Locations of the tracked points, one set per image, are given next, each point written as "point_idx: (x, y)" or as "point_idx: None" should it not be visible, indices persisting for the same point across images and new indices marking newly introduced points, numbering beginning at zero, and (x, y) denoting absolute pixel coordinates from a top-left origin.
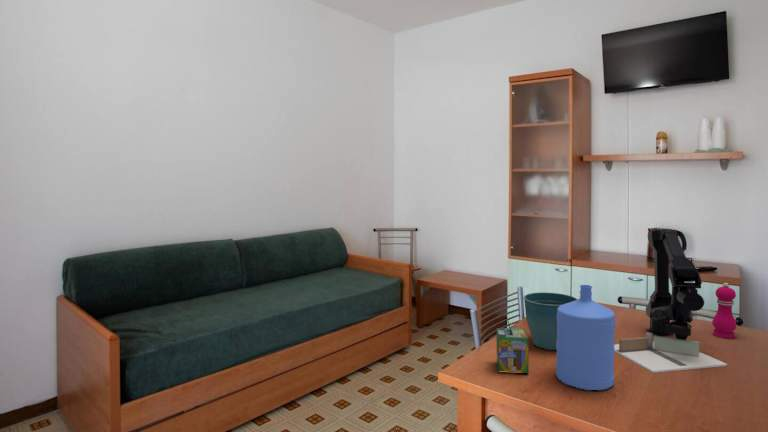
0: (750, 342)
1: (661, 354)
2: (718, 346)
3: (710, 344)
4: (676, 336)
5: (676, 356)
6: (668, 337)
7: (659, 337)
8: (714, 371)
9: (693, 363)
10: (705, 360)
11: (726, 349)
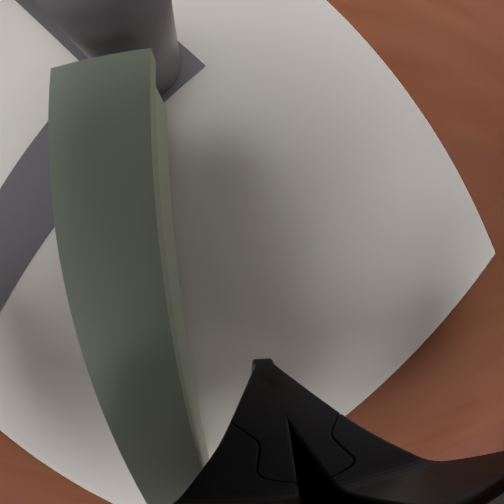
0: None
1: (28, 204)
2: (450, 446)
3: (470, 419)
4: (225, 444)
5: (69, 328)
6: (162, 322)
7: (50, 160)
8: (36, 472)
9: (21, 417)
10: None
11: None
